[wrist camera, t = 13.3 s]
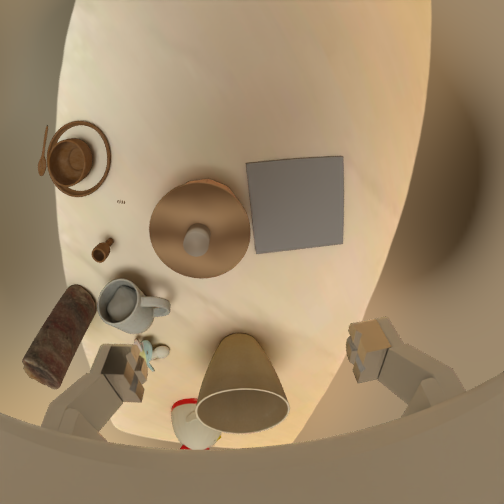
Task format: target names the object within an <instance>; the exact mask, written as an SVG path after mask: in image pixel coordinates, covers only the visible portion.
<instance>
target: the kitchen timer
mask: <svg viewBox="0 0 504 504" xmlns="http://www.w3.org/2000/svg"><path fill="white" fill-rule="evenodd" d="M197 400H198V399H195V398H190V399H183V400H180V401H177V402H176V403H174V405H173V406H172V411H171V419H172V425H173V429H174V432H175V435H176V437H177V438H178V440H179V441H180V443H181V444H182V447H181V448H180V449H188V450H210V449H209V448H210V447H212V446H213V445H214V444H215V443H216V442H217V440H219V439H220V438H221V436H220V435H221V432H219V431H216V430H213V429H211V428H209V427H207V426H205V425H204V424H202V423H201V422H200V421H199V420H198V419H197V417H196V414H195V408H196V404H197Z"/></svg>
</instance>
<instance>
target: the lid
mask: <svg viewBox="0 0 504 504" xmlns="http://www.w3.org/2000/svg"><path fill="white" fill-rule="evenodd" d="M149 232H150V239H151V243H152V246H153V248H154V250H155V252H156V254H157V255H158V257H159V258H160V259H161V260H162V262H163V263H164V264H166V265H167V266H168V267H169V268H171V269H172V270H174V271H175V272H177V273H179V274H182V275H184V276H188V277H193V278H211V277H216V276H219V275H221V274H224V273H226V272H228V271H229V270H231V269H232V268H234V267H235V266H236V265H237V264H238V263H239V262H240V261H241V259H242V258H243V257H244V255H245V253H246V251H247V248H248V246H249V242H250V224H249V219H248V216H247V213H246V211H245V209H244V207H243V206H242V204H241V203H240V202H239V200H238V199H237V198H236V197H235V196H234V195H232V194H231V193H230V192H228V191H227V190H225V189H223V188H221V187H219V186H216V185H213V184H209V183H201V182H196V183H188V184H184V185H181V186H178V187H176V188H174V189H173V190H171V191H170V192H168V193H167V194H166V195H165V196H164V197H163V198H162V199H161V200H160V201H159V203H158V204H157V205H156V207H155V209H154V211H153V213H152V216H151V220H150V227H149Z"/></svg>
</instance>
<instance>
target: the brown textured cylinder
mask: <svg viewBox="0 0 504 504" xmlns="http://www.w3.org/2000/svg"><path fill="white" fill-rule="evenodd" d="M95 313H96V307H95V302H94V301H93V299H92V297H91V295H90V294H89V293H88V292H87V291H86V290H84V289H83V288H82V287H81V286H79V285H73V286H71V287H69V288H68V289H67V290H66V291H65V293H64V294H63V296H62V297H61V298H60V300H59V301H58V303H57V304H56V306H55V308H54V309H53V311H52V312H51V314H50V315H49V317H48V318H47V320H46V321H45V323H44V325H43V326H42V328H41V329H40V331H39V333H38V334H37V336H36V338H35V339H34V341H33V342H32V344H31V346H30V348H29V349H28V351H27V353H26V355H25V356H24V358H23V361H22V362H23V364H24V368H23V369H24V370H25V372H26V373H27V375H28V376H29V377H30V378H31V379H35V380H37V381H38V382H40V383H42V384H44V385H47V386H48V387H50V388H52V389H58V388H59V387H60V386H61V383H62V381H63V378H64V376H65V374H66V372H67V370H68V367H69V365H70V363H71V361H72V359H73V357H74V355H75V352H76V350H77V348H78V346H79V344H80V342H81V340H82V338H83V337H84V334H85V332H86V331H87V329H88V327H89V325H90V323H91V321H92V319H93V317H94V315H95Z"/></svg>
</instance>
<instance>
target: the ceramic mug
mask: <svg viewBox="0 0 504 504" xmlns="http://www.w3.org/2000/svg"><path fill="white" fill-rule="evenodd" d="M97 307H98V313H99V316H100V317H101V319H102V320H103V321H104V322H105V323H107V324H108V325H111V326H113V327H115V328H118V329H120V330H122V331H124V332H126V333H130V334H140V333H142V332H144V331H146V330H147V329H148V328H149V327H150V326H151V324H152V322H153V320H154V317H159V316H166V315H168V314H169V313H170V302H169V301H168V300H166V299H163V298H160V297H146V296H145V295H144V294H143V293H142V291H141V290H140V289H139V288H138V287H137V286H136V285H135V284H134V283H133V282H131V281H130V280H127V279H123V278H120V279H115V280H113V281H111V282H109V283H108V284H107V285H106V286H105V287H104V288H103V290H102V291H101V293H100V296H99V299H98V304H97ZM153 307H161V308H153Z"/></svg>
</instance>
